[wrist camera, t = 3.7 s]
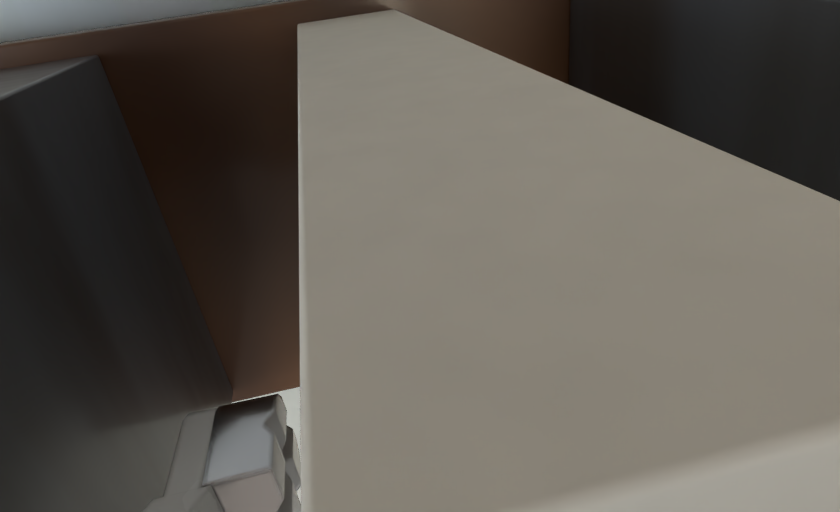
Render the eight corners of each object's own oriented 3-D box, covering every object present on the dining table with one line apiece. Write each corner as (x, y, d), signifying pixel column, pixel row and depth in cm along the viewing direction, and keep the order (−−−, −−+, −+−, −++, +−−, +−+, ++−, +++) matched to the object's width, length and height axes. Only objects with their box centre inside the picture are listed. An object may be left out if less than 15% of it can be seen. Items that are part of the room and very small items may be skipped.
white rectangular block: (370, 359, 19) (502, 1069, 7) (296, 23, 13) (296, 583, 1) (438, 344, 19) (686, 997, 7) (394, 8, 14) (1180, 337, 2)
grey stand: (126, 408, 19) (-81, 945, 8) (-69, 52, 13) (-1563, 398, 3) (647, 289, 21) (983, 598, 11) (685, -59, 15) (1516, -114, 5)
